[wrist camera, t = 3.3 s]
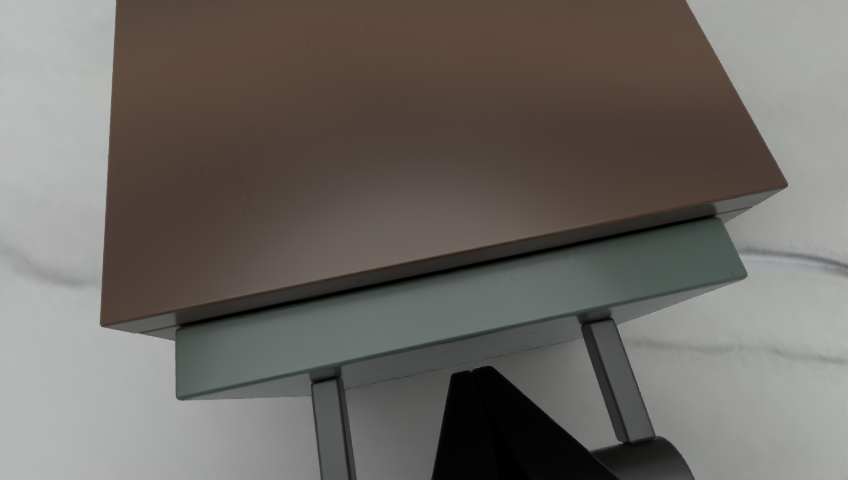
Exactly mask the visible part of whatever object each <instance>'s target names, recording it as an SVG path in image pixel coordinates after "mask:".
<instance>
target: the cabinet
mask: <svg viewBox="0 0 848 480" xmlns="http://www.w3.org/2000/svg"><path fill="white" fill-rule="evenodd" d="M787 186H788V183H787V181H786V179H785V177H784V176H783V174H782V172H781V170H780V168H779V167H778V165H777V163H776V161H775V159H774V158H773V156H772V154H771V152H770V150H769V149H768V147H767V145H766V143H765V142H764V140H763V138H762V136H761V134H760V133H759V131H758V129H757V127H756V125H755V124H754V122H753V120H752V118H751V116H750V115H749V113H748V111H747V109H746V108H745V106H744V104H743V102H742V100H741V99H740V97H739V95H738V93H737V91H736V90H735V88H734V86H733V84H732V82H731V81H730V79H729V77H728V75H727V74H726V72H725V70H724V68H723V66H722V65H721V63H720V61H719V59H718V57H717V56H716V54H715V52H714V50H713V48H712V47H711V45H710V43H709V41H708V40H707V38H706V36H705V34H704V32H703V31H702V29H701V27H700V25H699V23H698V22H697V20H696V18H695V16H694V14H693V13H692V11H691V9H690V7H689V6H688V4H687V2H686V0H116V18H115V37H114V57H113V77H112V96H111V116H110V136H109V155H108V175H107V194H106V214H105V234H104V253H103V273H102V293H101V312H100V325H101V327H105V328H110V329H115V330H120V331H125V332H130V333H139V334H144V335H149V336H154V337H159V338H164V339H169V340H174V341H175V332H176V329H178V328H180V327H185V326H190V325H195V324H200V323H204V322H209V321H214V320H219V319H224V318H229V317H234V316H238V315H243V314H248V313H253V312H258V311H263V310H267V309H272V308H277V307H282V306H287V305H292V304H297V303H296V302H294V300H298V299H303V298H308V297H313V296H318V295H323V294H328V293H332V292H337V291H342V290H347V289H352V288H357V287H362V286H366V285H371V284H376V283H381V282H386V281H391V280H396V279H400V278H405V277H410V276H415V275H420V274H425V273H430V272H434V271H439V270H444V269H449V268H454V267H459V266H464V265H468V264H473V263H478V262H483V261H488V260H493V259H498V258H502V257H507V256H512V255H517V254H522V253H527V252H532V251H536V250H541V249H546V248H551V247H556V246H561V245H566V244H570V243H575V242H576V243H575V244H574V245H573V246H578V245H582V244H587V243H592V242H597V241H602V240H607V239H611V238H616V237H621V236H626V235H631V234H636V233H640V232H645V231H650V230H655V229H660V228H665V227H670V226H674V225H679V224H684V223H689V222H694V221H699V220H703V219H708V218H713V217H719V218H720V219H721V220H722V222H723V224H724V223H726V222H728V221H729V220H731V219H733V218H735V217H736V216H738V215H740V214H742V213H743V212H745V211H747V210H749V209H750V208H752V207H753V206H755V205H757V204H759V203H760V202H762V201H764V200H766V199H767V198H769V197H771V196H773V195H774V194H776V193H778V192H780V191H781V190H783V189H785V188H786V187H787ZM573 246H572V247H573Z"/></svg>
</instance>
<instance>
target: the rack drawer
mask: <svg viewBox="0 0 848 480" xmlns="http://www.w3.org/2000/svg"><path fill="white" fill-rule="evenodd" d="M575 243H576V242H575ZM575 243H570V244H566V245H561V246H556V247H551V248H546V249H541V250H536V251H532V252H527V253H522V254H517V255H512V256H507V257H502V258H498V259H493V260H488V261H483V262H478V263H473V264H468V265H464V266H459V267H454V268H449V269H444V270H439V271H434V272H430V273H425V274H420V275H415V276H410V277H405V278H400V279H396V280H391V281H386V282H381V283H376V284H371V285H366V286H362V287H357V288H352V289H347V290H342V291H337V292H332V293H328V294H323V295H318V296H313V297H308V298H303V299H298V300H294V302H296V303H297V304H292V305H287V306H282V307H277V308H272V309H267V310H263V311H258V312H253V313H248V314H243V315H238V316H234V317H229V318H224V319H219V320H214V321H209V322H204V323H200V324H195V325H190V326H185V327H180V328H178V329H176V332H175V361H176V398H177V399H178V400H181V401H184V400H213V399H243V398H272V397H301V396H312V404H313V413H314V422H315V431H316V440H317V449H318V458H319V467H320V476H321V480H357V477H356V470H355V462H354V455H353V448H352V440H351V433H350V426H349V418H348V411H347V404H346V397H345V390H346V389H351V388H355V387H360V386H364V385H369V384H374V383H378V382H383V381H387V380H392V379H396V378H401V377H406V376H410V375H415V374H419V373H424V372H428V371H433V370H437V369H442V368H447V367H451V366H456V365H460V364H465V363H469V362H474V361H479V360H483V359H488V358H492V357H497V356H501V355H506V354H511V353H515V352H520V351H524V350H529V349H533V348H538V347H543V346H547V345H552V344H556V343H561V342H565V341H570V340H575V339H579V338H582V337H583V338H584V341H585V344H586V347H587V350H588V353H589V356H590V359H591V362H592V365H593V368H594V371H595V374H596V377H597V380H598V383H599V386H600V389H601V392H602V395H603V398H604V401H605V404H606V407H607V410H608V413H609V416H610V419H611V423H612V426H613V429H614V432H615V435H616V438H617V440H618V441H620V442H623V443H622V444H617V445H613V446H609V447H605V448H600V449H596V450H592V451H589V452H591V453H592V454H593V455H594V456H595V457H596V458H597V459H598V460H600V461H601V462H602V463H603V464H604V465H605V466H606V467H608V468H609V469H610V470H611V471H612V472H613V473H614V474H616V475H617V476H618V477H619V478H620V479H621V480H695V479H694V477H693V475H692V472H691V470H690V469H689V467H688V465H687V463H686V461H685V460H684V458H683V457H682V455H681V454H680V453H679V451H678V450H677V449H676V448H675V447H674V445H673V444H672V443H670V442H669V441H668V440H667V439H665V438H664V437H661V436H655V432H654V429H653V427H652V424H651V421H650V418H649V416H648V413H647V410H646V407H645V404H644V402H643V399H642V396H641V393H640V390H639V388H638V385H637V382H636V379H635V377H634V374H633V371H632V368H631V365H630V363H629V360H628V357H627V354H626V352H625V349H624V346H623V343H622V340H621V338H620V335H619V332H618V329H617V326H616V325H618V324H621V323H624V322H627V321H629V320H632V319H635V318H638V317H641V316H643V315H646V314H649V313H652V312H654V311H657V310H660V309H663V308H666V307H668V306H671V305H674V304H677V303H679V302H682V301H685V300H688V299H690V298H693V297H696V296H699V295H702V294H704V293H707V292H710V291H713V290H715V289H718V288H721V287H724V286H727V285H729V284H732V283H735V282H738V281H740V280H743V279H745V278H746V277H747V272H746V270H745V267H744V265H743V263H742V261H741V259H740V257H739V255H738V253H737V251H736V249H735V247H734V245H733V243H732V241H731V239H730V236H729V234H728V232H727V230H726V228H725V226H724V224H723V222H722V220H721V219H720V218H719V217H713V218H708V219H703V220H699V221H694V222H689V223H684V224H679V225H674V226H670V227H665V228H660V229H655V230H650V231H645V232H640V233H636V234H631V235H626V236H621V237H616V238H611V239H607V240H602V241H597V242H592V243H587V244H582V245H578V246H573V245H574V244H575ZM572 246H573V247H572Z"/></svg>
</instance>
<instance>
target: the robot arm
mask: <svg viewBox="0 0 848 480" xmlns="http://www.w3.org/2000/svg"><path fill="white" fill-rule="evenodd" d="M431 480H621V479H620V478H619V477H618V476H617V475H616V474H614V473H613V472H612V471H611V470H610V469H609V468H608V467H606V466H605V465H604V464H603V463H602V462H601V461H600V460H598V459H597V458H596V457H595V456H594V455H593V454H592V453H591V452H589V451H588V450H587V449H586V448H585V447H584V446H583V445H581V444H580V443H579V442H578V441H577V440H576V439H575V438H573V437H572V436H571V435H570V434H569V433H568V432H567V431H565V430H564V429H563V428H562V427H561V426H560V425H559V424H557V423H556V422H555V421H554V420H553V419H552V418H551V417H549V416H548V415H547V414H546V413H545V412H544V411H543V410H541V409H540V408H539V407H538V406H537V405H536V404H535V403H533V402H532V401H531V400H530V399H529V398H528V397H527V396H525V395H524V394H523V393H522V392H521V391H520V390H519V389H517V388H516V387H515V386H514V385H513V384H512V383H511V382H509V381H508V380H507V379H506V378H505V377H504V376H503V375H501V374H500V373H499V372H498V371H497V370H496V369H495V368H493V367H492V366H484V367H480V368H475V369H473V370H472V372H471V371H469V370H466V371H462V372H457V373H453V374H452V375H451V379H450V384H449V389H448V394H447V400H446V405H445V410H444V416H443V421H442V426H441V431H440V437H439V442H438V447H437V453H436V458H435V463H434V468H433V474H432V479H431Z"/></svg>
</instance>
